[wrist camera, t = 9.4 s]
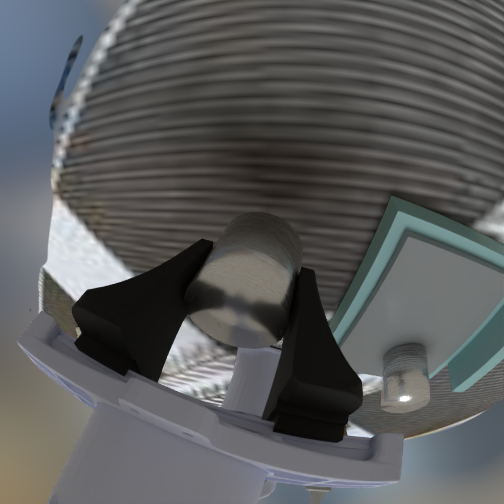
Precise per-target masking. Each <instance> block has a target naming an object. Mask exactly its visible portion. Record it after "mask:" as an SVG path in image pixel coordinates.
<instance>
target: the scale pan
mask: <svg viewBox="0 0 504 504" xmlns="http://www.w3.org/2000/svg"><path fill="white" fill-rule="evenodd" d="M503 298H504V270H503V269H501V268H499V267H497V266H495V265H492V264H490V263H488V262H486V261H483V260H481V259H479V258H477V257H474V256H472V255H470V254H467V253H465V252H462V251H460V250H457V249H455V248H453V247H450V246H448V245H445V244H442V243H440V242H437V241H435V240H432V239H430V238H427V237H424V236H422V235H419V234H416V233H413V232H411V231H408V230H405V232H404V234H403V236H402V238H401V240H400V242H399V244H398V246H397V248H396V250H395V252H394V254H393V256H392V258H391V260H390V262H389V263H388V265H387V267H386V269H385V271H384V273H383V274H382V276H381V278H380V280H379V281H378V283H377V285H376V287H375V288H374V290H373V292H372V293H371V295H370V297H369V298H368V300H367V302H366V303H365V305H364V306H363V308H362V310H361V311H360V313H359V314H358V316H357V317H356V319H355V321H354V322H353V324H352V325H351V327H350V328H349V330H348V331H347V333H346V334H345V336H344V337H343V339H342V340H341V341H340V343H339V344H338V346H339V348H340V349H341V351H342V353H343V355H344V357H345V358H346V360H347V361H348V363H349V364H350V366H351V367H352V369H353V370H354V371H355V372H358V373H363V374H369V375H375V376H381V377H382V373H383V356H384V355H385V353H386V352H388V351H389V350H390V349H392V348H394V347H397V346H400V345H404V344H418V345H421V346H423V347H424V348H425V349H426V351H427V359H428V371H429V375H430V374H431V373H433V372H434V371H435V370H436V369H437V368H438V367H439V366H441V365H442V364H443V363H444V362H445V361H446V360H447V359H448V358H449V357H450V356H451V355H452V354H454V353H455V352H456V351H457V350H458V349H459V348H460V347H461V346H462V345H463V344H464V343H465V342H466V341H467V340H468V339H469V337H470V336H471V335H472V334H473V333H474V332H475V331H476V330H477V329H478V328H479V327H480V326H481V324H482V323H483V322H484V321H485V320H486V319H487V318H488V316H489V315H490V314H491V313H492V312H493V310H494V309H495V308H496V307H497V305H498V304H499V303H500V302H501V300H502V299H503Z"/></svg>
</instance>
